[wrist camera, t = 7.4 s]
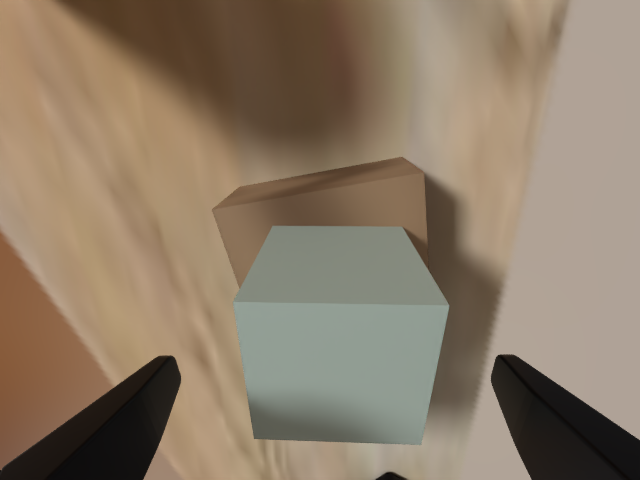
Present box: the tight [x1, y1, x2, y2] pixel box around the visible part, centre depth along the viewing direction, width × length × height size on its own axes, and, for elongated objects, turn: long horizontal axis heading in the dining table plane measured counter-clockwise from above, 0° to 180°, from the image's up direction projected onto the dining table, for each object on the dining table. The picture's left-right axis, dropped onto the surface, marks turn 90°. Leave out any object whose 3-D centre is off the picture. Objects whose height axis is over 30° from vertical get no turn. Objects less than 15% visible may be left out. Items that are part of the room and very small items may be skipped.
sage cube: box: [233, 226, 449, 445], centre depth 10 cm, size 5×5×5 cm
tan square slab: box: [212, 157, 429, 288], centre depth 14 cm, size 8×8×4 cm
